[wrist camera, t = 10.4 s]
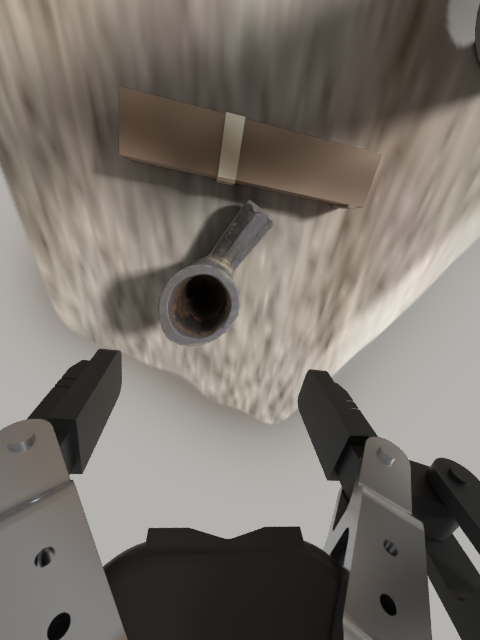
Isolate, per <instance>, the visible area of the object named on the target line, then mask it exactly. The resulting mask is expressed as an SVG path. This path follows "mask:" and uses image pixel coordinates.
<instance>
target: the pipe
mask: <svg viewBox="0 0 480 640" xmlns="http://www.w3.org/2000/svg"><path fill="white" fill-rule="evenodd" d="M273 225H274V221H273V219H272V218H271V217H270V216H269V215H268V214H266V213H265V212H264V211H263V210H262V209H261V208H259V207H258V206H257V205H256V204H255V203H253V202H252V201H251V200H250V199H248V200H247V201H246V203H245V204H244V205H243V207H242V208H241V209H240V210H239V212H238V213H237V215H236V216H235V217H234V219H233V220H232V222H231V223H230V225H229V226H228V227H227V229H226V230H225V232H224V233H223V234H222V236H221V237H220V238H219V240H218V242H217V243H216V245H215V246H214V248H213V249H212V251H211V252H210V253H209V255H208V256H206V257H202V258H199V259H197V260H195V261H194V262H193V263H192V264H190V265H189V266H188V267H186V268H184V269H182V270H180V271H178V272H177V273H175V274H174V275H173V276H172V277H171V278H170V279H169V281H168V282H167V284H166V285H165V287H164V288H163V290H162V292H161V296H160V300H159V317H160V323H161V327H162V330H163V332H164V333H165V335H166V337H167V338H168V339H169V340H170V341H173V342H175V343H177V344H180V345H186V346H198V345H203V344H206V343H209V342H211V341H213V340H215V339H217V338H218V337H220V336H221V335H222V334H223V333H225V332H226V331H227V330H228V329H230V327H231V326H232V325H233V323H234V322H235V320H236V318H237V316H238V313H239V310H240V295H239V291H238V289H237V286H236V284H235V283H234V281H233V280H232V273H233V272H234V270H235V269H236V268H237V267H238V266H239V264H240V263H241V262H242V261H243V259H244V258H245V257H246V256H247V255H248V254H249V252H250V251H251V250H252V249H253V248H254V247H255V246H256V245H257V243H258V242H259V241H260V240H261V239H262V237H263V236H264V235H265V234H266V233H267V232H268V231H269V230H270V228H271V227H272V226H273Z"/></svg>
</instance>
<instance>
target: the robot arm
mask: <svg viewBox="0 0 480 640" xmlns="http://www.w3.org/2000/svg"><path fill="white" fill-rule="evenodd" d="M475 45H476V50H477V55H478V59H479V61H480V5H479V9H478V12H477V19H476V27H475ZM121 367H122V366H121V351H118V350H108V349H99V350H98V351H97V352H96V354H95V355H94V356H93V358H92V359H91V360H90V361H87V360H82V361H80V362H79V363H77V364H75V365H73V366H72V367H70V368H69V369H68V370H67V372H66V373H65V374H64V375H63V376H62V379H60V380H59V381H58V382H57V384H56V385H55V387H54V388H53V389H52V390H51V391H50V392H49V393H48V395H47V396H46V397H45V398H44V399H43V401H42V402H41V403H40V404H39V405H38V406H37V408H36V409H35V410H34V411H33V412H32V414H31V415H30V416H29V417H28V419H27V420H23V421H19V422H16V423H13V424H11V425H9V426H7V427H5V428H3V429H2V430H0V640H432V634H431V619H430V605H429V592H428V577H427V575H428V576H429V579H430V581H431V583H432V584H433V586H434V588H435V590H436V592H437V594H438V596H439V598H440V599H441V602H442V603H443V605H444V607H445V609H446V611H447V613H448V615H449V617H450V618H451V620H452V622H453V624H454V626H455V628H456V630H457V632H458V634H459V636H460V638H461V639H462V640H480V574H479V573H478V571H477V570H476V568H475V567H474V565H473V564H472V562H471V561H470V559H469V558H468V556H467V555H466V553H465V552H464V551H463V549H462V547H461V546H460V544H459V543H458V541H457V540H456V538H455V537H454V535H453V534H452V533H453V532H454V531H455V530H456V529H457V528H458V527H459V526H460V527H461V529H462V530H463V532H464V533H465V534H466V536H467V537H468V538H469V540H470V541H471V543H472V544H473V546H474V547H475V549H476V550H477V551H478V553H479V554H480V481H479V480H478V479H477V478H476V477H475V476H474V475H473V474H472V473H471V472H470V471H468V470H467V469H466V468H464V467H463V466H461V465H460V464H458V463H456V462H454V461H452V460H449V459H445V458H438V459H436V460H435V461H434V462H433V464H432V465H431V467H429V466H426V465H423V464H420V463H417V462H413V461H410V460H408V458H407V456H406V455H405V454H404V452H403V451H402V450H401V449H400V448H399V447H397V446H396V445H395V444H393V443H392V442H390V441H388V440H386V439H383V438H380V437H378V436H377V435H376V433H375V432H374V430H373V429H372V427H371V426H370V425H369V423H368V422H367V420H366V419H365V417H364V416H363V414H362V413H361V411H360V410H358V407H357V406H356V404H355V403H354V402H353V400H352V398H351V397H350V396H349V394H348V393H347V391H346V390H344V389H343V388H342V387H341V386H339V384H337V383H334V381H333V380H332V378H331V376H330V375H329V373H328V372H327V371H321V370H308V372H307V374H306V376H305V379H304V382H303V385H302V388H301V391H300V393H299V396H298V408H299V412H300V414H301V416H302V419H303V421H304V424H305V426H306V428H307V431H308V434H309V436H310V438H311V441H312V444H313V446H314V449H315V451H316V453H317V456H318V458H319V461H320V463H321V466H322V468H323V471H324V473H325V476H326V478H327V480H332V481H340V483H341V485H342V487H341V489H340V490H339V493H338V497H337V501H336V505H335V509H334V514H333V517H332V521H331V525H330V529H329V534H328V537H327V540H326V543H325V546H324V548H323V550H321V549H320V548H318V547H317V546H314V545H313V544H310V543H308V542H306V541H303V537H302V534H301V530H300V527H264V528H261V529H258V530H255V531H253V532H250V533H247V534H244V535H241V536H238V537H236V538H232V539H224V538H220V537H217V536H214V535H211V534H207V533H204V532H201V531H197V530H194V529H191V528H149V529H148V534H147V539H146V542H144V543H142V544H139V545H136V546H134V547H132V548H130V549H128V550H126V551H124V552H122V553H121V554H119V555H118V556H116V557H115V558H114V559H112V560H111V561H110V562H108V563H107V564H106V565H104V567H103V566H102V563H101V560H100V557H99V554H98V551H97V549H96V545H95V542H94V539H93V536H92V533H91V531H90V528H89V525H88V522H87V519H86V516H85V513H84V510H83V507H82V504H81V501H80V498H79V495H78V492H77V489H76V486H75V484H74V482H73V480H70V477H69V475H70V474H83V471H84V469H85V467H86V465H87V463H88V461H89V459H90V457H91V454H92V452H93V450H94V448H95V446H96V444H97V442H98V439H99V437H100V435H101V433H102V431H103V429H104V427H105V425H106V422H107V420H108V418H109V416H110V414H111V412H112V409H113V407H114V405H115V403H116V401H117V399H118V397H119V394H120V390H121V384H122V371H121V369H122V368H121Z"/></svg>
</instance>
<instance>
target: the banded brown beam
mask: <svg viewBox="0 0 480 640" xmlns="http://www.w3.org/2000/svg"><path fill="white" fill-rule="evenodd" d="M119 155H121V156H123V157H125V158H127V159H129V160H132V161H136V162H140V163H145V164H149V165H154V166H159V167H163V168H168V169H173V170H177V171H182V172H187V173H191V174H196V175H200V176H205V177H210V178H214V179H217V181H216V182H218V183H223V184H228V185H233V184H235V183H238V184H242V185H247V186H251V187H256V188H261V189H265V190H270V191H275V192H279V193H284V194H289V195H293V196H298V197H302V198H307V199H312V200H316V201H321V202H326V203H330V204H331V207H335V208H344V209H356V207H359V208H363V207H364V204H365V201H366V198H367V195H368V192H369V189H370V187H371V184H372V181H373V178H374V175H375V172H376V169H377V167H378V164H379V161H380V158H381V155H382V154H378V153H374V152H371V151H367V150H363V149H359V148H355V147H351V146H348V145H344V144H340V143H336V142H332V141H328V140H325V139H321V138H317V137H313V136H309V135H305V134H302V133H298V132H294V131H290V130H286V129H283V128H279V127H275V126H271V125H267V124H263V123H260V122H256V121H252V120H248V119H245V117H244V116H240V115H236V114H233V113H229V112H226V114H225V113H221V112H217V111H214V110H210V109H206V108H202V107H198V106H194V105H191V104H187V103H183V102H179V101H175V100H171V99H168V98H164V97H160V96H156V95H152V94H148V93H145V92H141V91H137V90H133V89H129V88H125V87H122V86H119Z"/></svg>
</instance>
